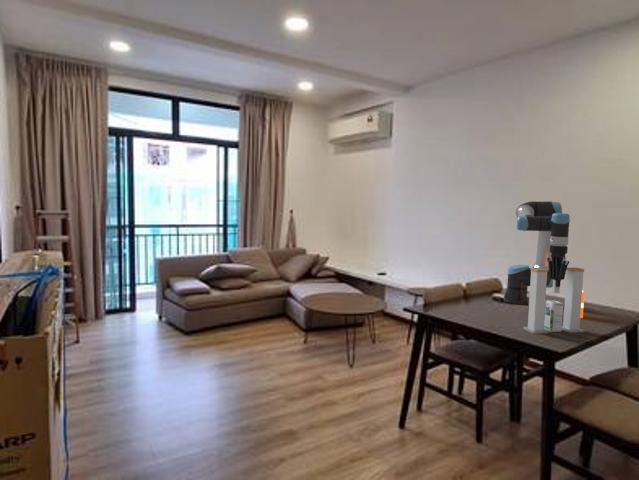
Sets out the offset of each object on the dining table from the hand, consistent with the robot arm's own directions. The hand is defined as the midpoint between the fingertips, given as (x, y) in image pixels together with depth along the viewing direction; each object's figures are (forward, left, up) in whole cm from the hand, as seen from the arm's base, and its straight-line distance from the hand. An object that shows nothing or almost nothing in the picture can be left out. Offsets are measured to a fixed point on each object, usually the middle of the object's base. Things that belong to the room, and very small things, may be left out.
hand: (555, 292), depth 206 cm
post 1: (-5, -8, -19) cm, 21 cm away
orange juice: (-6, +38, -19) cm, 43 cm away
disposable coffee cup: (-20, +22, -19) cm, 35 cm away
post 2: (+5, +8, -19) cm, 21 cm away
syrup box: (0, 0, -19) cm, 19 cm away
